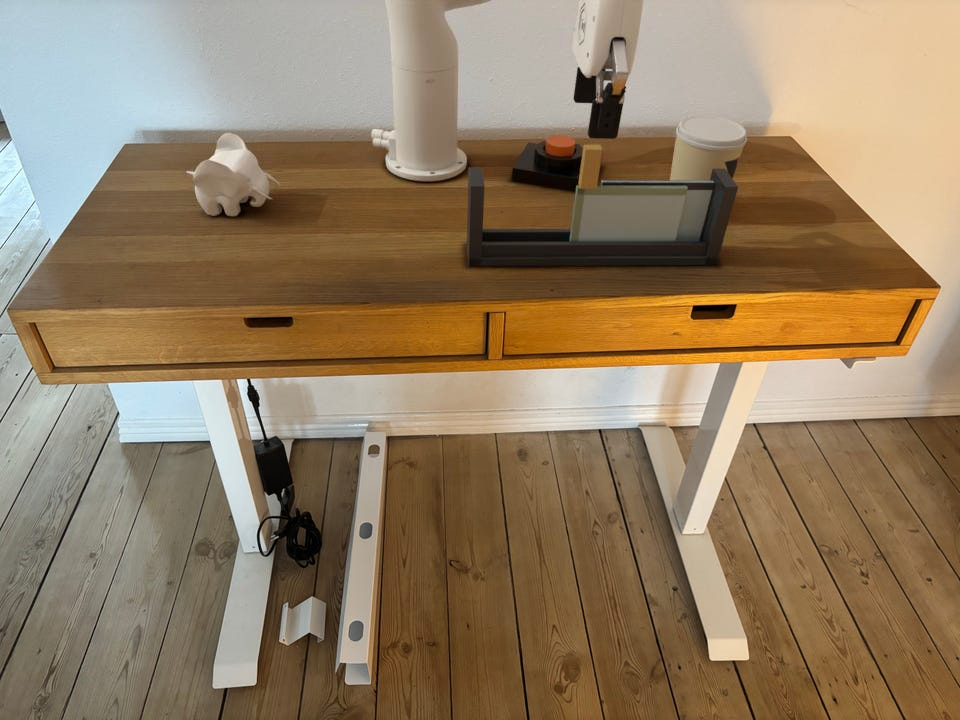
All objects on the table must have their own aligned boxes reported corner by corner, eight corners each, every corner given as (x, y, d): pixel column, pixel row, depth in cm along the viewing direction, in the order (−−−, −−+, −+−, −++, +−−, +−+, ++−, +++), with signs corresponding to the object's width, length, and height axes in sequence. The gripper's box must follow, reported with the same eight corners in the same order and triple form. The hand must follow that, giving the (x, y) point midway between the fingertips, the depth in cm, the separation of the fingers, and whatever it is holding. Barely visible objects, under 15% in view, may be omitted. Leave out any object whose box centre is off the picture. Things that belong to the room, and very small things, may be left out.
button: (542, 155, 110) (543, 144, 109) (548, 144, 113) (549, 133, 112) (571, 159, 109) (572, 148, 108) (576, 148, 112) (577, 137, 111)
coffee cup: (728, 227, 102) (751, 145, 94) (660, 219, 103) (677, 137, 96) (724, 197, 109) (746, 118, 101) (661, 189, 110) (677, 111, 103)
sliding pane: (569, 250, 93) (582, 149, 84) (568, 244, 94) (581, 144, 85) (674, 250, 94) (698, 150, 85) (671, 244, 95) (694, 145, 86)
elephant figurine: (271, 226, 98) (260, 164, 92) (182, 221, 98) (166, 159, 92) (288, 193, 105) (279, 133, 100) (205, 189, 105) (192, 129, 100)
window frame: (468, 266, 92) (470, 186, 85) (466, 245, 96) (468, 167, 89) (716, 265, 94) (738, 186, 87) (704, 245, 98) (725, 168, 91)
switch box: (511, 181, 111) (513, 156, 108) (527, 155, 118) (528, 131, 116) (589, 194, 108) (593, 169, 106) (600, 166, 116) (604, 142, 113)
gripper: (569, -70, 78) (551, 89, 90) (599, -29, 65) (573, 152, 77) (637, -67, 79) (611, 91, 90) (681, -25, 66) (643, 153, 77)
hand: (594, 119), depth 83 cm, fingers open, 9 cm apart
